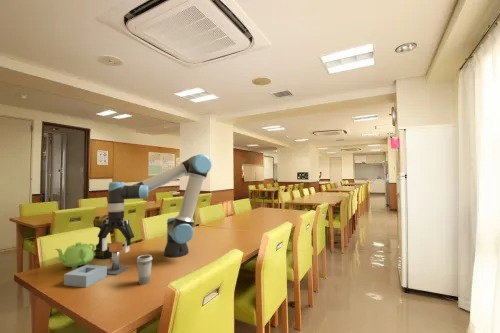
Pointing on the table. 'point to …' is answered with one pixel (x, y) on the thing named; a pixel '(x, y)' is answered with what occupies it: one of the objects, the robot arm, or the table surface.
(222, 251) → the table surface
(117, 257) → the brown-topped metal cylinder
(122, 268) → the mat
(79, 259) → the teapot
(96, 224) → the cordless drill
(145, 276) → the cup
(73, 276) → the block
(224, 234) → the table surface
